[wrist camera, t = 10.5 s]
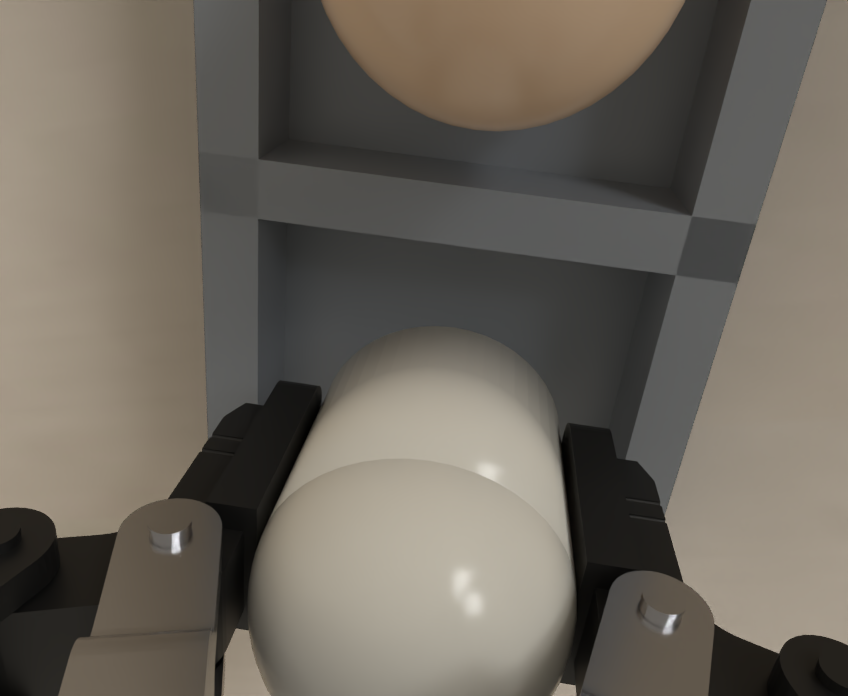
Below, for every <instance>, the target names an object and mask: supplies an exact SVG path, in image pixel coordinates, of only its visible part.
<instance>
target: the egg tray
mask: <svg viewBox="0 0 848 696" xmlns="http://www.w3.org/2000/svg"><path fill="white" fill-rule="evenodd" d="M826 2H827V0H685V2H684V5H683V6H682V8H681V10H680V12H679V13H678V15H677V17H676V19H675V21H674V22H673V24H672V26H671V28H670V29H669V31H668V32H667V34H666V35H665V36H664V38H663V39H662V41H661V42H660V43H659V45H658V46H657V47H656V49H655V50H654V51H653V53H652V54H651V55H650V56H649V57H648V58H647V59H646V61H645V62H644V63H643V64H642V65H641V66H640V67H639V68H638V69H637V70H636V71H635V72H634V73H633V74H632V75H631V76H630V77H629V78H628V79H627V80H625V81H624V82H623V83H622V84H621V85H619V86H618V87H617V88H616V89H615V90H614V91H612V92H611V93H609V94H608V95H606V96H605V97H603V98H602V99H600V100H599V101H597V102H596V103H594V104H593V105H591V106H589V107H587V108H585V109H583V110H581V111H579V112H577V113H575V114H573V115H571V116H569V117H566V118H564V119H561V120H558V121H555V122H552V123H549V124H546V125H542V126H537V127H533V128H528V129H523V130H512V131H482V130H472V129H467V128H462V127H457V126H452V125H449V124H446V123H443V122H440V121H437V120H434V119H431V118H429V117H427V116H425V115H423V114H421V113H419V112H417V111H415V110H413V109H411V108H409V107H407V106H406V105H404V104H403V103H401V102H400V101H398V100H397V99H395V98H394V97H392V96H391V95H389V94H388V93H387V92H386V91H385V90H384V89H383V88H381V87H380V86H379V85H378V84H377V83H376V82H375V81H373V80H372V79H371V78H370V77H369V76H368V75H367V74H366V72H365V71H364V70H363V69H362V68H361V67H360V66H359V64H358V63H357V62H356V61H355V60H354V59H353V58H352V56H351V55H350V53H349V52H348V50H347V49H346V47H345V46H344V44H343V43H342V42H341V40H340V39H339V37H338V35H337V33H336V32H335V30H334V28H333V26H332V24H331V22H330V20H329V18H328V16H327V14H326V12H325V9H324V7H323V4H322V2H321V0H194V29H195V59H196V89H197V120H198V150H199V180H200V210H201V241H202V271H203V301H204V331H205V361H206V392H207V422H208V439H209V438H210V437H212V433H213V432H214V430H215V429H216V427H217V426H218V424H219V423H220V421H221V420H222V418H223V417H224V416H225V415H227V414H228V413H230V412H232V411H233V410H235V409H236V408H238V407H240V406H241V405H243V404H245V403H251V404H258V405H264V404H265V402H266V400H267V399H268V397H269V395H270V394H271V392H272V390H273V389H274V387H275V385H276V384H277V382H278V381H279V380H283V381H290V382H297V383H304V384H311V385H317V386H320V387H321V390H322V403H323V401H324V399H325V397H326V394H327V392H328V390H329V388H330V386H331V384H332V381H333V379H334V378H335V376H336V375H337V373H338V372H339V370H340V369H341V368H342V366H343V365H344V364H345V363H346V362H347V361H348V360H349V359H350V358H351V357H352V356H353V355H354V354H355V353H357V352H358V351H359V350H360V349H361V348H363V347H365V346H366V345H368V344H369V343H371V342H373V341H374V340H376V339H379V338H381V337H383V336H385V335H388V334H390V333H394V332H397V331H401V330H404V329H410V328H416V327H427V326H442V327H454V328H459V329H464V330H469V331H472V332H475V333H478V334H482V335H485V336H487V337H489V338H491V339H493V340H496V341H498V342H500V343H502V344H503V345H505V346H506V347H508V348H510V349H511V350H513V351H514V352H516V353H517V354H518V355H519V356H521V357H522V358H523V359H524V360H525V361H527V362H528V363H529V365H530V366H531V367H532V368H533V369H534V370H535V371H536V372H537V373H538V375H539V376H540V377H541V379H542V380H543V382H544V383H545V384H546V386H547V388H548V390H549V392H550V394H551V396H552V398H553V400H554V403H555V406H556V409H557V413H558V419H559V424H560V433H561V442H562V438H563V433H564V430H565V427H566V425H567V423H574V424H580V425H587V426H594V427H601V428H608V429H610V430H611V433H612V438H613V442H614V447H615V452H616V456H617V458H618V459H625V460H632V461H637V462H638V463H639V464H640V465H641V466H642V467H643V468H644V470H645V471H646V472H647V473H648V474H649V475H650V476H651V478H652V479H653V480H654V481H655V484H656V488H657V491H658V495H659V498H660V506H662V509H663V513H664V515H665V512H666V509H667V506H668V502H669V499H670V496H671V493H672V490H673V487H674V483H675V480H676V477H677V474H678V471H679V468H680V464H681V461H682V458H683V455H684V452H685V449H686V445H687V442H688V439H689V436H690V433H691V430H692V426H693V423H694V420H695V417H696V414H697V411H698V407H699V404H700V401H701V398H702V395H703V392H704V388H705V385H706V382H707V379H708V376H709V373H710V369H711V366H712V363H713V360H714V357H715V354H716V350H717V347H718V344H719V341H720V338H721V335H722V331H723V328H724V325H725V322H726V319H727V316H728V312H729V309H730V306H731V303H732V300H733V297H734V293H735V290H736V287H737V284H738V281H739V278H740V274H741V271H742V268H743V265H744V262H745V259H746V255H747V252H748V249H749V246H750V243H751V240H752V236H753V233H754V230H755V227H756V224H757V221H758V217H759V214H760V211H761V208H762V205H763V201H764V198H765V195H766V192H767V189H768V186H769V182H770V179H771V176H772V173H773V170H774V167H775V163H776V160H777V157H778V154H779V151H780V148H781V144H782V141H783V138H784V135H785V132H786V129H787V125H788V122H789V119H790V116H791V113H792V110H793V106H794V103H795V100H796V97H797V94H798V91H799V87H800V84H801V81H802V78H803V75H804V72H805V68H806V65H807V62H808V59H809V56H810V53H811V49H812V46H813V43H814V40H815V37H816V34H817V30H818V27H819V24H820V21H821V18H822V15H823V11H824V8H825V5H826Z"/></svg>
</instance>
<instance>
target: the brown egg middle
mask: <svg viewBox="0 0 848 696" xmlns="http://www.w3.org/2000/svg"><path fill="white" fill-rule="evenodd" d="M321 2H322V4H323V7H324V9H325V12H326V14H327V16H328V18H329V20H330V22H331V24H332V26H333V28H334V30H335V32H336V33H337V35H338V37H339V39H340V40H341V42H342V43H343V44H344V46H345V47H346V49H347V50H348V52H349V53H350V55H351V56H352V58H353V59H354V60H355V61H356V62H357V63H358V64H359V66H360V67H361V68H362V69H363V70H364V71H365V72H366V74H367V75H368V76H369V77H370V78H371V79H372V80H373V81H375V82H376V83H377V84H378V85H379V86H380V87H381V88H383V89H384V90H385V91H386V92H387V93H388V94H389V95H391V96H392V97H394V98H395V99H397V100H398V101H400V102H401V103H403V104H404V105H406V106H407V107H409V108H411V109H413V110H415V111H417V112H419V113H421V114H423V115H425V116H427V117H429V118H431V119H434V120H437V121H440V122H443V123H446V124H449V125H452V126H457V127H462V128H467V129H472V130H482V131H512V130H523V129H528V128H533V127H537V126H542V125H546V124H549V123H552V122H555V121H558V120H561V119H564V118H566V117H569V116H571V115H573V114H575V113H577V112H579V111H581V110H583V109H585V108H587V107H589V106H591V105H593V104H594V103H596V102H597V101H599V100H600V99H602V98H603V97H605V96H606V95H608V94H609V93H611V92H612V91H614V90H615V89H616V88H617V87H618V86H619V85H621V84H622V83H623V82H624V81H625V80H627V79H628V78H629V77H630V76H631V75H632V74H633V73H634V72H635V71H636V70H637V69H638V68H639V67H640V66H641V65H642V64H643V63H644V62H645V61H646V59H647V58H648V57H649V56H650V55H651V54H652V53H653V51H654V50H655V49H656V47H657V46H658V45H659V43H660V42H661V41H662V39H663V38H664V36H665V35H666V34H667V32H668V31H669V29H670V28H671V26H672V24H673V22H674V21H675V19H676V17H677V15H678V13H679V12H680V10H681V8H682V6H683V5H684V2H685V0H321Z"/></svg>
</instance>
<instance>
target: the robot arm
mask: <svg viewBox="0 0 848 696" xmlns="http://www.w3.org/2000/svg"><path fill="white" fill-rule="evenodd" d="M321 405H322V390H321V387H320V386H317V385H311V384H304V383H297V382H290V381H283V380H279V381H278V382H277V384H276V385H275V387H274V389H273V390H272V392H271V394H270V395H269V397H268V399H267V400H266V402H265V404H264V405H258V404H251V403H245V404H243V405H241V406H240V407H238V408H236V409H235V410H233V411H232V412H230V413H228V414H227V415H225V416H224V417H223V418H222V420H221V421H220V423H219V424H218V426H217V427H216V429H215V430H214V432H213V433H212V437H210V438H209V439H208V441H207V442H206V444H205V445H204V447H203V448H202V452H199V454H198V455H197V457H196V458H195V460H194V461H193V463H192V464H191V466H190V467H189V469H188V470H187V472H186V473H185V475H184V476H183V478H182V479H181V480H180V482H179V483H178V485H177V486H176V488H175V489H174V491H173V492H172V494H171V495H170V497H169V498H168V499H165V500H160V501H156V502H153V503H150V504H147V505H145V506H143V507H141V508H139V509H137V510H136V511H134V512H133V513H132V514H130V515H129V516H128V517H127V518H126V519H125V520H124V521H123V523H122V524H121V526H120V528H119V530H118V532H115V533H111V534H103V535H93V536H80V537H66V538H57V535H56V529H55V525H54V523H53V521H52V520H51V519H50V518H49V517H48V516H47V515H45V514H44V513H42V512H39V511H36V510H33V509H28V508H4V509H0V696H224V680H225V651H226V649H227V647H228V645H229V643H230V640H231V638H232V636H233V634H234V631H235V629H236V628H238V629H244V630H249V626H248V610H247V598H248V586H249V579H250V573H251V567H252V563H253V559H254V556H255V552H256V549H257V546H258V543H259V541H260V538H261V535H262V533H263V531H264V529H265V527H266V525H267V522H268V520H269V518H270V516H271V514H272V512H273V509H274V507H275V505H276V503H277V501H278V499H279V496H280V494H281V492H282V490H283V488H284V486H285V483H286V481H287V479H288V477H289V475H290V473H291V470H292V468H293V466H294V464H295V462H296V460H297V457H298V455H299V453H300V451H301V449H302V447H303V444H304V442H305V440H306V438H307V436H308V434H309V431H310V429H311V427H312V425H313V423H314V421H315V418H316V416H317V414H318V412H319V410H320V408H321ZM561 443H562V452H563V462H564V472H565V481H566V491H567V500H568V510H569V519H570V529H571V538H572V548H573V558H574V567H575V577H576V587H577V621H576V627H575V633H574V639H573V645H572V650H571V654H570V656H569V659H568V662H567V665H566V668H565V670H564V673H563V676H562V678H561V681H560V683H565V684H571V685H576V694H577V696H848V645H846V644H844V643H841V642H839V641H836V640H833V639H830V638H826V637H822V636H816V635H802V636H796V637H794V638H792V639H790V640H788V641H787V642H786V643H785V644H784V645H783V647H782V649H781V651H780V653H779V654H778V653H776V652H773V651H771V650H768V649H766V648H763V647H761V646H758V645H756V644H753V643H751V642H748V641H746V640H743V639H741V638H739V637H737V636H734V635H732V634H730V633H728V632H727V631H725V630H723V629H721V628H720V627H718V626H717V625H715V624H714V618H713V614H712V612H711V610H710V608H709V606H708V605H707V603H706V602H705V601H704V599H703V598H702V597H701V596H700V595H699V594H698V593H697V592H696V591H694V590H693V589H692V588H691V587H689V586H688V585H686V584H685V583H683V580H682V576H681V572H680V569H679V565H678V562H677V558H676V555H675V551H674V548H673V544H672V541H671V537H670V534H669V530H668V527H667V523H665V516H664V513H663V509H662V506H660V498H659V495H658V491H657V488H656V484H655V481H654V480H653V479H652V478H651V476H650V475H649V474H648V473H647V472H646V471H645V470H644V468H643V467H642V466H641V465H640V464H639V463H638V462H637V461H632V460H625V459H618V458H617V456H616V452H615V447H614V442H613V438H612V433H611V430H610V429H608V428H601V427H594V426H587V425H580V424H574V423H567V425H566V427H565V430H564V433H563V438H562V442H561Z"/></svg>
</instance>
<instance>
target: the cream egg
mask: <svg viewBox="0 0 848 696" xmlns="http://www.w3.org/2000/svg"><path fill="white" fill-rule="evenodd" d="M247 610H248V626H249V634H250V639H251V645H252V649H253V653H254V657H255V661H256V664H257V666H258V669H259V671H260V674H261V676H262V679H263V681H264V683H265V685H266V688H267V690H268V692H269V693H270V695H271V696H552V695H553V694H554V692H555V690H556V688H557V687H558V685H559V683H560V681H561V678H562V676H563V673H564V670H565V668H566V665H567V662H568V659H569V656H570V654H571V650H572V645H573V639H574V633H575V627H576V621H577V587H576V577H575V567H574V558H573V548H572V538H571V529H570V519H569V510H568V500H567V491H566V481H565V472H564V462H563V452H562V443H561V433H560V424H559V419H558V413H557V409H556V406H555V403H554V400H553V398H552V396H551V394H550V392H549V390H548V388H547V386H546V384H545V383H544V382H543V380H542V379H541V377H540V376H539V375H538V373H537V372H536V371H535V370H534V369H533V368H532V367H531V366H530V365H529V363H528V362H527V361H525V360H524V359H523V358H522V357H521V356H519V355H518V354H517V353H516V352H514V351H513V350H511V349H510V348H508V347H506V346H505V345H503V344H502V343H500V342H498V341H496V340H493V339H491V338H489V337H487V336H485V335H482V334H478V333H475V332H472V331H469V330H464V329H459V328H454V327H442V326H427V327H416V328H410V329H404V330H401V331H397V332H394V333H390V334H388V335H385V336H383V337H381V338H379V339H376V340H374V341H373V342H371V343H369V344H368V345H366V346H365V347H363V348H361V349H360V350H359V351H358V352H357V353H355V354H354V355H353V356H352V357H351V358H350V359H349V360H348V361H347V362H346V363H345V364H344V365H343V366H342V368H341V369H340V370H339V372H338V373H337V375H336V376H335V378H334V379H333V381H332V384H331V386H330V388H329V390H328V392H327V394H326V397H325V399H324V401H323V403H322V405H321V408H320V410H319V412H318V414H317V416H316V418H315V421H314V423H313V425H312V427H311V429H310V431H309V434H308V436H307V438H306V440H305V442H304V444H303V447H302V449H301V451H300V453H299V455H298V457H297V460H296V462H295V464H294V466H293V468H292V470H291V473H290V475H289V477H288V479H287V481H286V483H285V486H284V488H283V490H282V492H281V494H280V496H279V499H278V501H277V503H276V505H275V507H274V509H273V512H272V514H271V516H270V518H269V520H268V522H267V525H266V527H265V529H264V531H263V533H262V535H261V538H260V541H259V543H258V546H257V549H256V552H255V556H254V559H253V563H252V567H251V573H250V579H249V586H248V598H247Z"/></svg>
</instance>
